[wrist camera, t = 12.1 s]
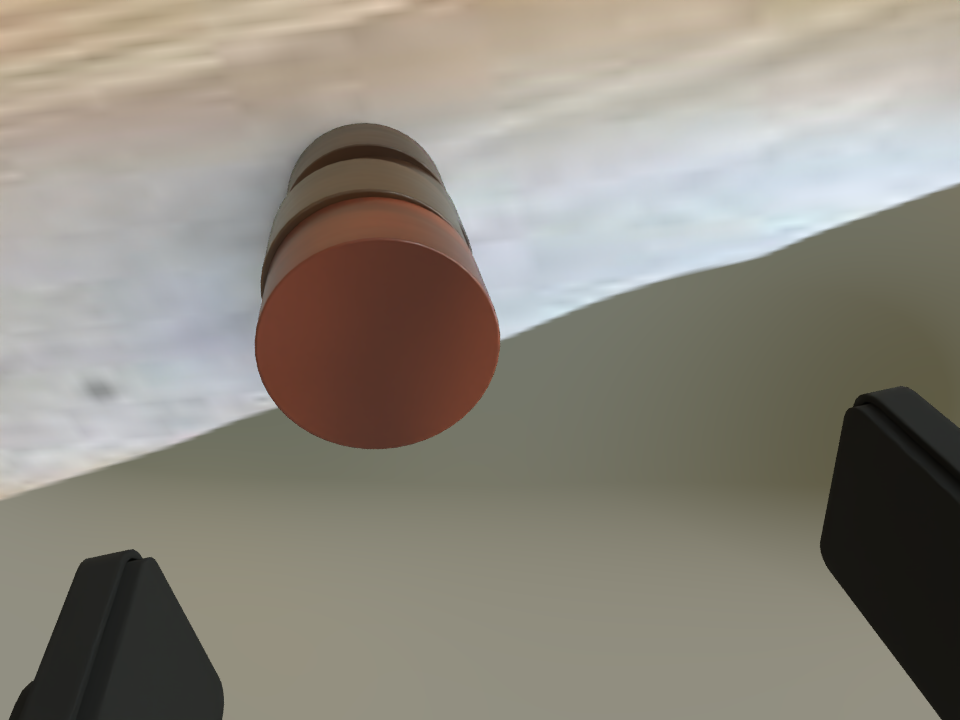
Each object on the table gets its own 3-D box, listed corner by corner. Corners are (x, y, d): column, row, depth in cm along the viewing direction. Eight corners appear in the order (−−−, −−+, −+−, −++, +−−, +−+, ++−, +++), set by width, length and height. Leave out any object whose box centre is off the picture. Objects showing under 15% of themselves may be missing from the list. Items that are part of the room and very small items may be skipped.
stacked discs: (266, 259, 28) (239, 380, 21) (300, 91, 26) (283, 161, 18) (426, 295, 30) (454, 418, 23) (474, 143, 28) (526, 227, 20)
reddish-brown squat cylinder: (248, 368, 21) (235, 430, 18) (288, 168, 18) (281, 208, 16) (445, 404, 23) (459, 465, 20) (509, 227, 20) (534, 272, 17)
